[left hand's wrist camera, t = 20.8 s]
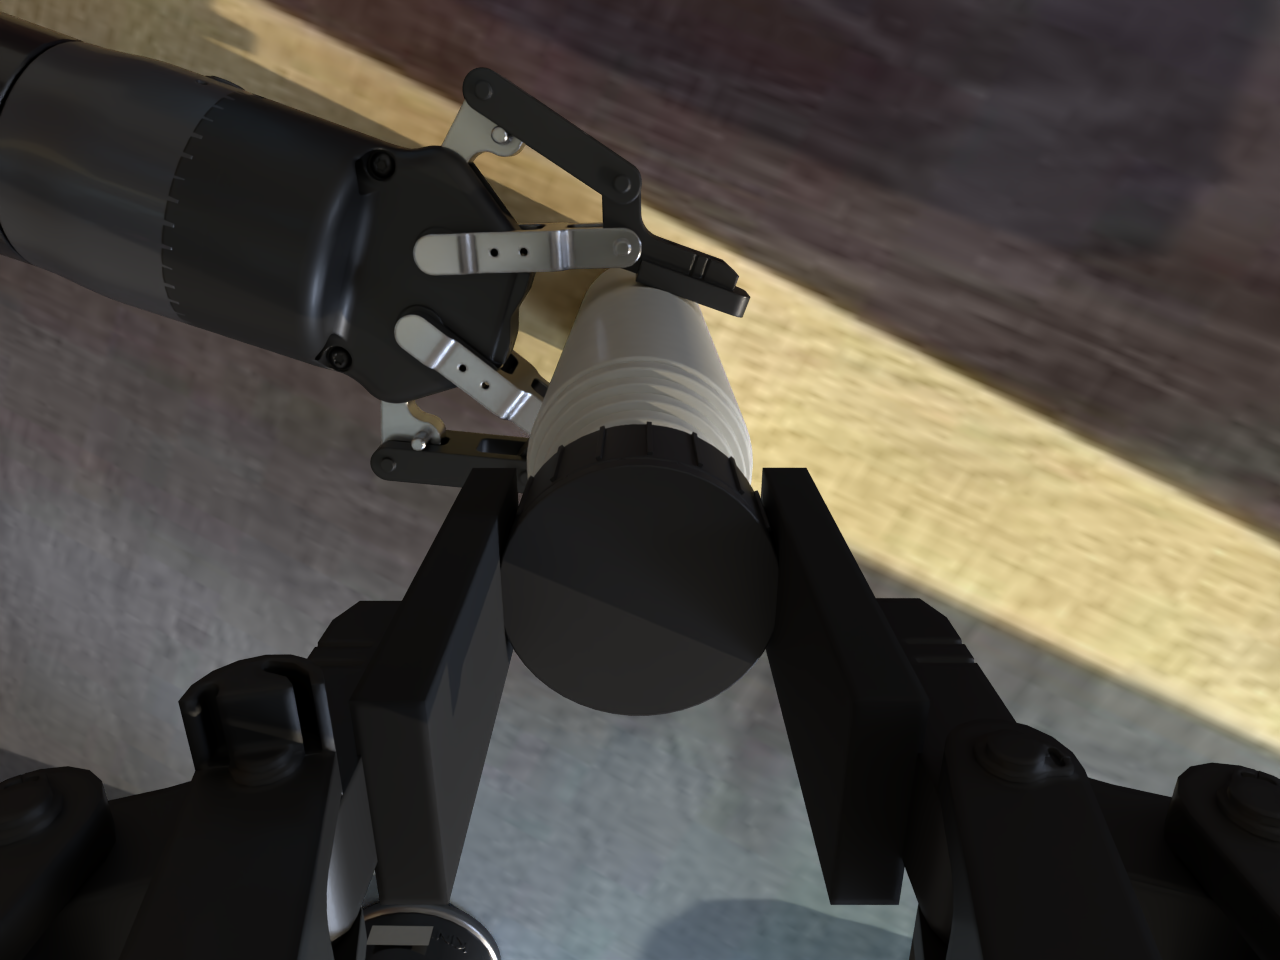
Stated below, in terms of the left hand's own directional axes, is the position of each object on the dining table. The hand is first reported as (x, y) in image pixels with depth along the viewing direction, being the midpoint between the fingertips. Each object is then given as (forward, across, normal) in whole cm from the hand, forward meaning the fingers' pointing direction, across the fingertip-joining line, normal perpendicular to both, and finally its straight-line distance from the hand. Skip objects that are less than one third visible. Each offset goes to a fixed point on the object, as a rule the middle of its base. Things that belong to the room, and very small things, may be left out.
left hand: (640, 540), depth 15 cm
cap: (-2, 0, 0) cm, 2 cm away
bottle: (+21, 0, 0) cm, 21 cm away
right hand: (+14, -2, +1) cm, 15 cm away
